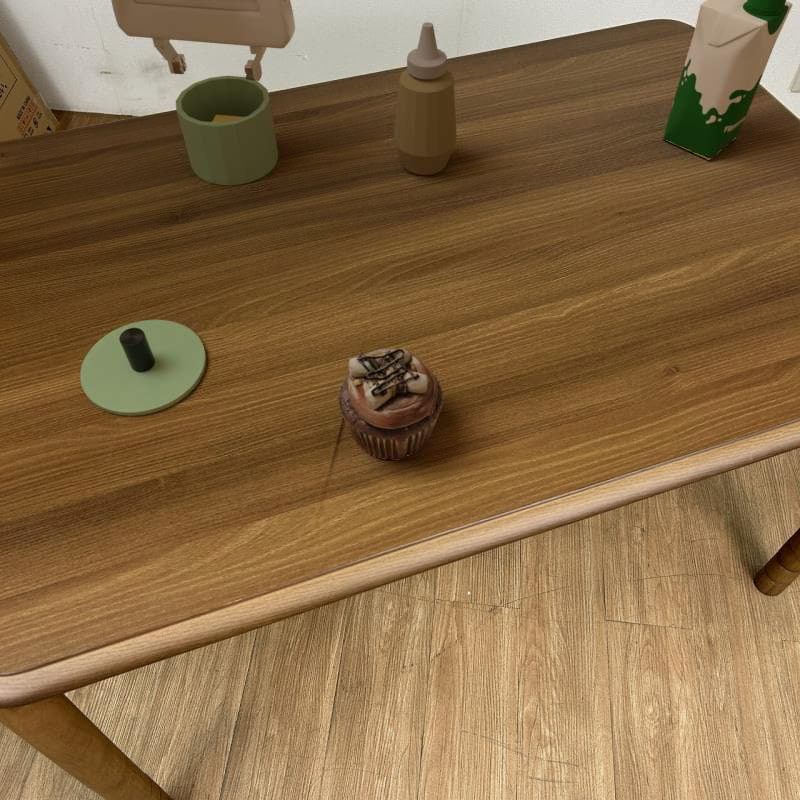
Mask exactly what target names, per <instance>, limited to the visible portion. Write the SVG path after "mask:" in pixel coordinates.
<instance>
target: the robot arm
mask: <svg viewBox="0 0 800 800" xmlns="http://www.w3.org/2000/svg"><path fill="white" fill-rule="evenodd" d="M110 1H111V6H112V11H113V15H114V18H115V22H116V24H117V26H118V28H119V29H120V30H121V31H122V32H123V33H124V34H125V35H126V36H127V37H133V38H145V39H152V42H153V46H154V48H155V49H156V51H158V52H159V54H160V55H161V56H162V57H163V58H164V59H165V61H167V65H168V68H169V73H170V74H174V75H184V74H185V72H186V71H187V69H188V66H187V63H186V57H185V54H184V53H178V52H177V50H176V49H175V47H174V46H173V45H172V43H171V42H170V41H171V40H172V41H183V42H195V43H206V44H207V43H208V44H219V45H220V44H221V45H231V46H245V47H249V51H250V54H251V55H255V56H254V59H248V60H247V62H246V64H245V65H244V67H243V68H244V73H245V77H246V79H247V80H253V81H258V82H260V81H261V78H262V76H263V75H262V74H263V70H262V69H263V68H262V64H261V62H262V60H263V57H264V55H265V53H266V51H267V48H269V49H284V48H286V47H287V46H288V44H289V43H290V41H291V40H292V39H293V37H294V35H295V31H296V30H295V29H296V23H295V18H294V17H295V16H294V11H293V7H292V2H291V0H110Z"/></svg>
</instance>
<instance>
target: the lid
mask: <svg viewBox="0 0 800 800" xmlns="http://www.w3.org/2000/svg"><path fill="white" fill-rule="evenodd" d="M206 365H207V353H206V348H205V346H204V343H203V342H202V340H201V338H200V337H199V336H198V334H197V333H196V332H194V330H192V329H191V328H189V327H187V326H186V325H184V324H183V323H180V322H177V321H172V320H167V319H146V320H140V321H134V322H130V323H128V324H125V325H122V326H120V327H118V328H116V329H114V330H112V331H110V332H109V333H107V334H105V335H104V336H103V337H102V338H100V339H99V340H98V341H97V342H95V344H94V345H93V346H92V347H91V348H90V349H89V351H88V352H87V354H86V355H85V357H84V359H83V361H82V364H81V367H80V373H79V377H80V384H81V388H82V390H83V392H84V394H85V396H86V397H87V398H88V400H89V401H90V402H91V403H92V404H93V405H94V406H96V407H97V408H99V409H100V410H103V411H105V412H107V413H110V414H114V415H116V416H117V415H118V416H128V417H135V416H136V417H137V416H146V415H150V414H154V413H157V412H161V411H163V410H166V409H168V408H170V407H172V406H174V405H176V404H177V403H179V402H181V401H182V400H183V399H185V398H186V397H187V396H189V394H190V393H192V392H193V390H194V389H195V388H196V387H197V386H198V384H199V383H200V381H201V379H202V378H203V376H204V373H205V371H206Z"/></svg>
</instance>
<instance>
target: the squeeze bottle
mask: <svg viewBox="0 0 800 800" xmlns="http://www.w3.org/2000/svg"><path fill="white" fill-rule="evenodd" d="M434 28H435V27H434V23H432V22H429V21H427V22H426V21H425V22H423V23H422V26H421V30H420V35H419V40H418V43H417V48H415V49H412V50H411V51H409V52H408V54H407V57H406V69H404V70H403V71H402V72H401V73H400V76H399V79H398V87H397V98H396V109H395V118H394V119H395V120H394V128H393V129H394V130H393V142H394V144H395V147H396V150H397V152H398V155H399V158H400V160H401V163H402V166H403V168H404V169H405V170H406V171H408V172H409V173H412V174H415V175H420V176H430V175H435V174H437V173H440V172H442V171H443V170H444V169H445V168H446V167H447V164H448V162H449V160H450V158H451V155H452V154H453V151H454V148H455V147H456V142H457V138H458V137H457V135H458V134H457V117H456V115H457V114H456V97H455V96H456V95H455V78H454V76H453V74H452V72H451V71H450V70H448V69H447V65H448V56H447V54H446V52H445V51H443V50H441V49H439V48H438V44H437V39H436V34H435V29H434Z"/></svg>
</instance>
